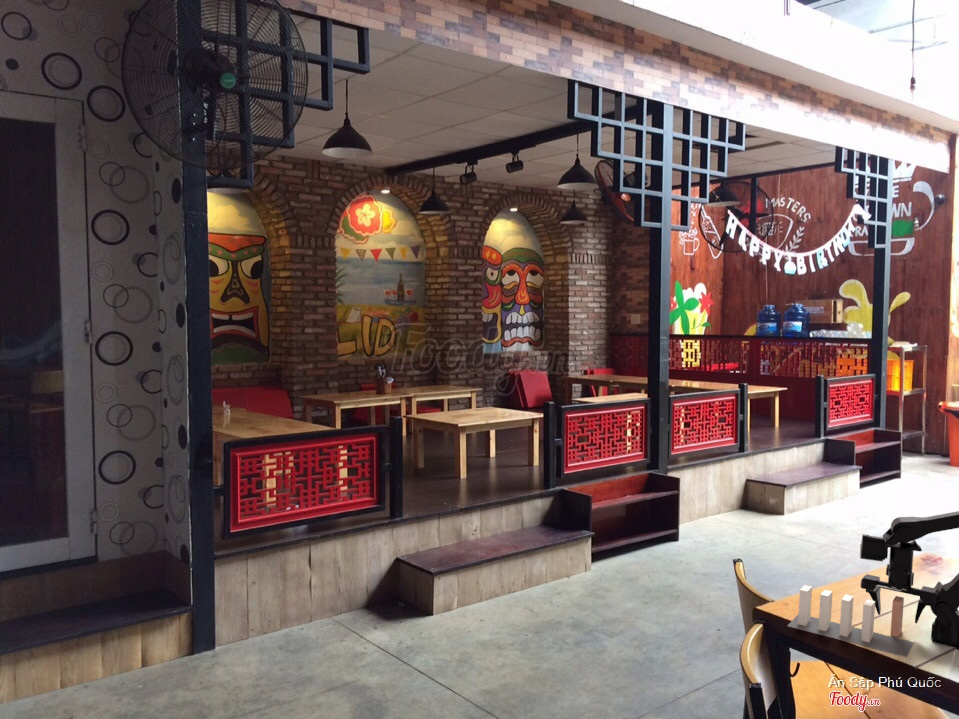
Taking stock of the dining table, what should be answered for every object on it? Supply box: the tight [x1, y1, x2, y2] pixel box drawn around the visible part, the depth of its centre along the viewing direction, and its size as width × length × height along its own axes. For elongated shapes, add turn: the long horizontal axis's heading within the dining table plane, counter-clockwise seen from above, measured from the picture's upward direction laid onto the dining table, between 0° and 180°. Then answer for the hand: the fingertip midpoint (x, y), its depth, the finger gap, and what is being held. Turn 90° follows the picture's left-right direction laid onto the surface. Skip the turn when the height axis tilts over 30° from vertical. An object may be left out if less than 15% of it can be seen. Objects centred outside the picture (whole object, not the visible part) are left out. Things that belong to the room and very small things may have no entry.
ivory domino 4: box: [861, 599, 876, 642], centre depth 213 cm, size 2×5×10 cm, turn 143°
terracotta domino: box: [890, 595, 905, 638], centre depth 218 cm, size 2×5×10 cm, turn 143°
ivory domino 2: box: [818, 589, 833, 631], centre depth 220 cm, size 2×5×10 cm, turn 143°
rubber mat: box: [787, 613, 915, 658], centre depth 216 cm, size 30×12×1 cm, turn 53°
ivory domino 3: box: [839, 594, 855, 637], centre depth 216 cm, size 2×5×10 cm, turn 143°
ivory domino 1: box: [797, 584, 813, 626], centre depth 223 cm, size 2×5×10 cm, turn 143°
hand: (897, 618), depth 218 cm, fingers open, 9 cm apart
